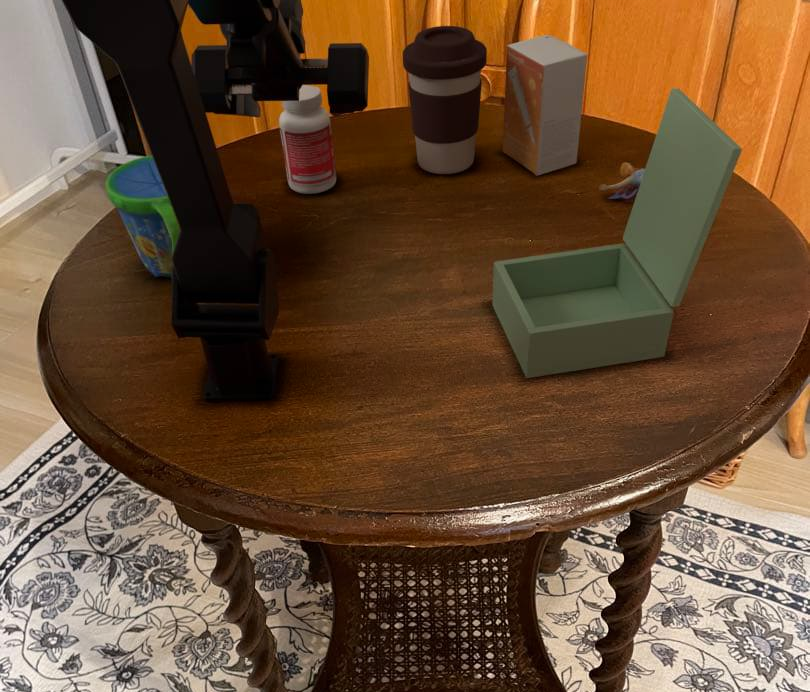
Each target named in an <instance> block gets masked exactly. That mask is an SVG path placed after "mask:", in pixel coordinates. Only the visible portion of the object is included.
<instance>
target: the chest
mask: <svg viewBox="0 0 810 692" xmlns="http://www.w3.org/2000/svg"><path fill="white" fill-rule="evenodd" d="M492 274H493V275H492V277H493V279H492V281H493V282H492V303H491V304H492V307H493V310H494V312H495V315H496V316H497V318H498V320H499V322H500V325H501V327H502V330H503V331H504V334H505V336H506V339H508V342H509V344H510V347H511V349H512V351H513V352H514V355H515V357H516V359H517V361H518V364H519V365H520V368H521V370H522V372H523V374H524V376H525V379H531V378H537V377H543V376H551V375H556V374H562V373H569V372H576V371H582V370H588V369H594V368H601V367H607V366H613V365H620V364H621V365H622V364H627V363H633V362H634V363H635V362H639V361H646V360H653V359H659V358H665V355H666V350H667V346H668V341H669V337H670V332H671V327H672V322H673V319H674V315H675V314H674V313H675V311H674V309H673V307H671V306H670V304H669V303H668V301H667V300H666V299H665V297H664V296H663V294H662V293H661V292H660V290H659V289H658V287H657V286H656V285H655V283H654V282H653V280H652V279H651V278H650V276H649V275H648V273H647V272H646V271H645V269H644V268H643V266H642V265H641V264H640V262H639V261H638V259H637V258H636V257H635V255H634V254H633V252H632V251H631V250H630V248H629V247H628V245H627V244H626V243H625V242H624V243H623V242H622V243H617V244H616V243H615V244H609V245H608V244H607V245H601V246H595V247H587V248H582V249H573V250H567V251H561V252H554V253H547V254H546V253H545V254H539V255H532V256H524V257H518V258H510V259H503V260H498V261H493V273H492Z"/></svg>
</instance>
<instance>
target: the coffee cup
mask: <svg viewBox="0 0 810 692" xmlns="http://www.w3.org/2000/svg"><path fill="white" fill-rule="evenodd" d="M487 55H488V50H487V47H486V45H485V44H484V43H483V42H482V41H479V39H478V40H477V39H476V37H475V35H474V33H473V32H472V31H471V30H470V29H469V28H466V27H462V26H458V25H457V26H455V25H439V26H438V25H437V26H432V27H429V28H425V29H422V30H421V31H419V32H418V33H416V35H415V37H414V40H413V42H411V43H409V44H408V45H407V46H406V47H404V49H403V50H402V65H403V69H404V70H405V71H406V72H407V73H408V84H407V86H408V97H409V107H410V116H411V127H412V132H413V135H414V139H415V148H416V149H415V150H416V158H417V164H418V166H419V167H420V168H421V169H422V170H424V171H426V172H429V173H431V174H435V175H436V174H437V175H452V174H457V173H461V172H464V171H466V170H468V169H469V168H471V166H472V165H473V163H474V160H475V152H476V151H475V150H476V138H477V133H478V130H479V123H480V113H481V112H480V110H481V97H482V85H483V82H482V81H483V80H482V78H481V75H482V70H483V69H484V68H485V67H486V65H487V59H488V58H487V57H488V56H487Z"/></svg>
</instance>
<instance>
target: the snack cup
mask: <svg viewBox="0 0 810 692" xmlns="http://www.w3.org/2000/svg"><path fill="white" fill-rule="evenodd" d="M105 189H106V193H107V196H108V199H109V200H110V202H111V203H112V205H113V206H114V207H116V209H117V211H118V213H119V216H120V218H121V220H122V223H123V224H124V226H125V228H126V231H127V233H128V235H129V237H130V240H131V242H132V243H133V245H134V248H135V250H136V252H137V255H138V256H139V258H140V260H141V262H142V264H143V265H144V267H145V268H146V269H147V271H149V272H150V273H151V274H152V275H153V276H154V277H156V278H158V277H164V278H170V279H172V275H171V267H172V265H173V263H172V256H173V252H174V249H175V245H176V241H177V238H178V234H179V231H180V228H179V225H178V222H177V220H176V217H175V214H174V212H173V209H172V207H171V204H170V201H169V199H168V196H167V194H166V191H165V189H164V186H163V183H162V181H161V178H160V176H159V173H158V170H157V168H156V165H155V163H154V160H153V157H152V155H151V154H150V155H146V156H142V157H139V158H135V159H132V160H130V161H127V162H125V163H123V164H121V165H119V166H118V167H116V168H115V169H114V170H113V171H112V172H111V173H110V174H109V175H108V176H107V178H106V181H105Z"/></svg>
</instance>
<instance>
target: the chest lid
mask: <svg viewBox="0 0 810 692" xmlns="http://www.w3.org/2000/svg"><path fill="white" fill-rule="evenodd" d="M655 135H656V136H655V138H654V141H653V144H652V147H651V151H650V153H649V156H648V160H647V163H646V166H645V168H644V169H645V171H644V174H643V177H642V181H641V184H640V185H639V186H640V187H638V190H637V192H636V196H635V199H634V202H633V205H632V208H631V211H630V214H629V217H628V221H627V224H626V227H625V228H624V229H625V230H624V233H623V236H622V240H623V241H624V243H625V244H626V245H627V247H628V248H629V249H630V251H631V252H632V254H633V255H634V256H635V258H636V259H637V261H638V262H639V263H640V265H641V266H642V268H643V269H644V270H645V272H646V273H647V275H648V276H649V277H650V279H651V280H652V282H653V283H654V284H655V286H656V287H657V289H658V290H659V291H660V293H661V294H662V296H663V297H664V298H665V300H666V301H667V303H668V304H669V305H670V307H671V308H680V305H681V303H682V301H683V298H684V296H685V293H686V291H687V288H688V285H689V283H690V281H691V279H692V276H693V274H694V270H695V268H696V266H697V263H698V260H699V258H700V256H701V254H702V250H703V248H704V246H705V243H706V241H707V238H708V235H709V234H710V231H711V229H712V226H713V223H714V221H715V219H716V216H717V214H718V211H719V208H720V206H721V203H722V201H723V199H724V196H725V193H726V191H727V188H728V186H729V183H730V182H731V178H732V176H733V174H734V171H735V169H736V167H737V164H738V161H739V158H740V156H741V154H742V151H743V148H742V147H741V146H740V145H739V144H738V143H737V142H736V141H735V140H734V139H733V138H732V137H730V136H729V135H728V134H727V132H725V131H724V130H723V129H722V128H721V127H720V126H719V125H718V123H716V122H715V121H713V120H712V118H711V117H709V116H708V114H707V113H706V112H704V111H703V109H702V108H700V107H699V106H698V105H697V104H696V103H695V102H694V101H692V99H691V98H689V96H687V94H685V93H684V92H683V91H682V90H681V89H680V88H674V87H671V89H670V92H669V95H668V98H667V101H666V104H665V106H664V110H663V113H662V117H661V119H660V123H659V126H658V129H657V132H656V134H655Z"/></svg>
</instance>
